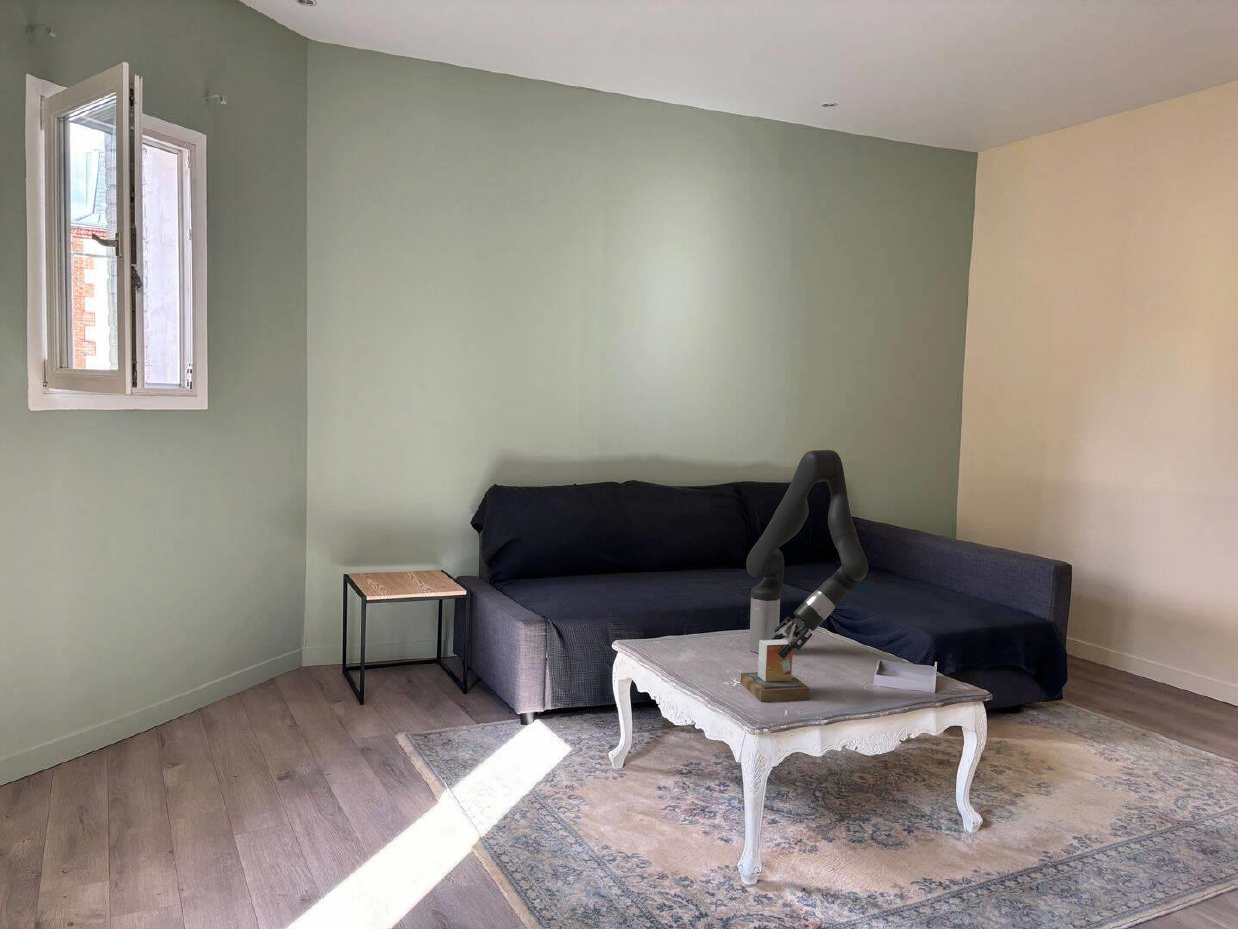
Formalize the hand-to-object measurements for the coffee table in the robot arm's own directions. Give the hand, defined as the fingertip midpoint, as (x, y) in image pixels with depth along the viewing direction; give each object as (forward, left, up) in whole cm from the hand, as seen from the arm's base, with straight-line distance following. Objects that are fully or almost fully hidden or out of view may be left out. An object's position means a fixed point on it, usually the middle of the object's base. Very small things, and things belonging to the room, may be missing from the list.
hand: (774, 652), depth 262 cm
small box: (0, 0, -8) cm, 8 cm away
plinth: (0, 0, -11) cm, 11 cm away
